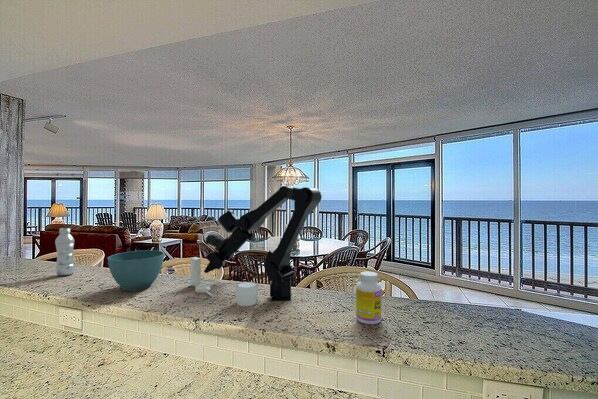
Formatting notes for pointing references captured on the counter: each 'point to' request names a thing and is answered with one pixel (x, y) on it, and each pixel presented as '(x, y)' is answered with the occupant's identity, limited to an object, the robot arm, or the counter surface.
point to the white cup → (247, 293)
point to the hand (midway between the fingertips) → (205, 272)
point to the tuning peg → (198, 277)
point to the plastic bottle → (64, 252)
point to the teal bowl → (136, 268)
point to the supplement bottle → (368, 299)
